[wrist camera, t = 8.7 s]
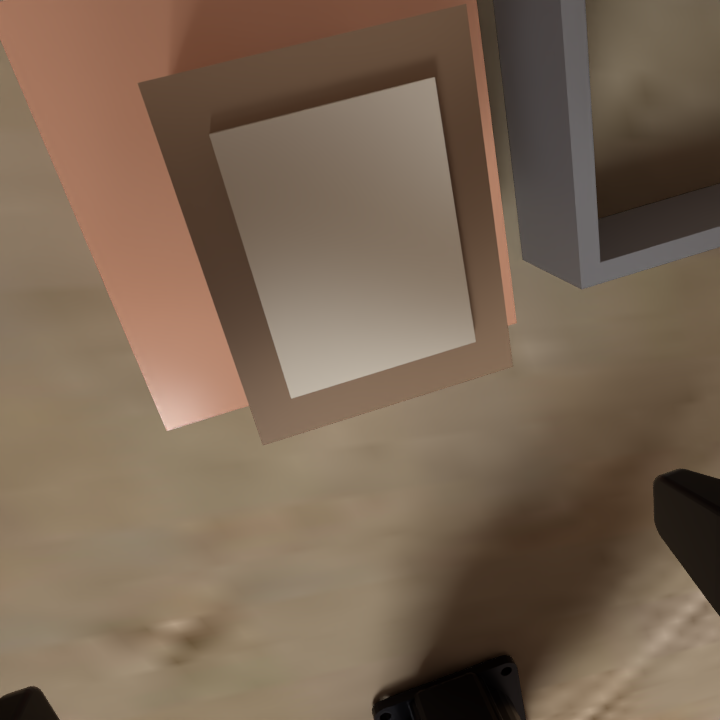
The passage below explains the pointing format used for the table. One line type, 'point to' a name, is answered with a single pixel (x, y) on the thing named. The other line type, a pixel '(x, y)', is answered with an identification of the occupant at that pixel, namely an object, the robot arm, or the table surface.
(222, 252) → the walnut box
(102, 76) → the terracotta stand
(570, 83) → the charcoal bin
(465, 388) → the table surface
